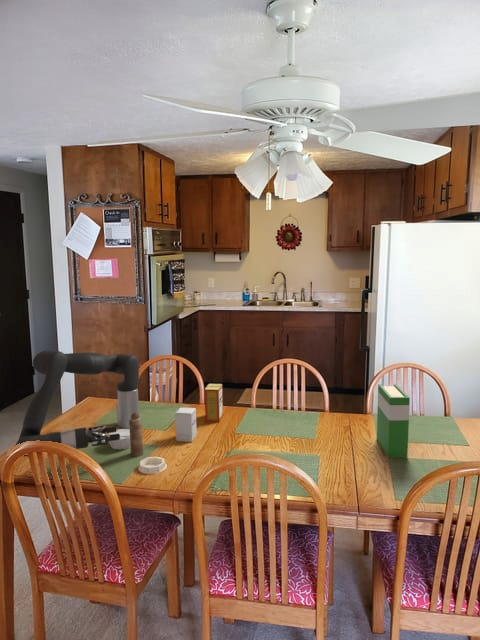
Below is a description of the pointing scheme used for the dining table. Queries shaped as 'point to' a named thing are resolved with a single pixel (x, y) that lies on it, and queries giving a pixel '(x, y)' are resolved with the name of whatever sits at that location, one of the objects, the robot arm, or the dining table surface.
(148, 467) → the ring coaster
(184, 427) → the supplement box
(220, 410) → the baking soda box
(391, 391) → the hardback book
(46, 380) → the robot arm
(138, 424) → the pepper mill
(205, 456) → the dining table surface
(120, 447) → the ramekin
